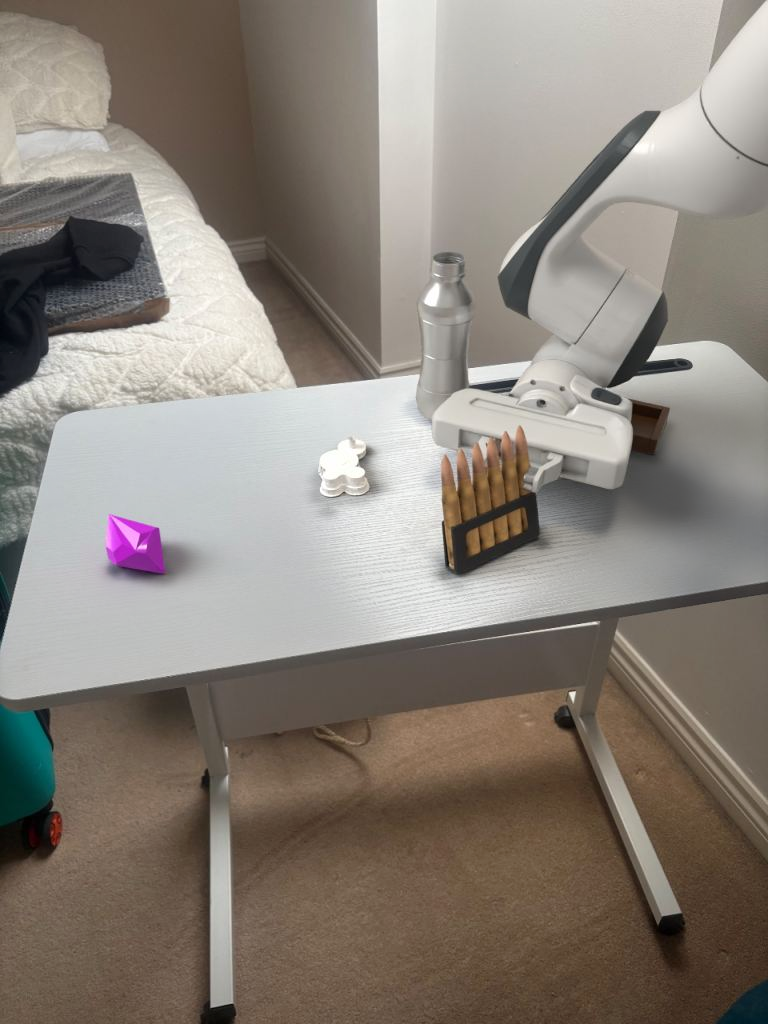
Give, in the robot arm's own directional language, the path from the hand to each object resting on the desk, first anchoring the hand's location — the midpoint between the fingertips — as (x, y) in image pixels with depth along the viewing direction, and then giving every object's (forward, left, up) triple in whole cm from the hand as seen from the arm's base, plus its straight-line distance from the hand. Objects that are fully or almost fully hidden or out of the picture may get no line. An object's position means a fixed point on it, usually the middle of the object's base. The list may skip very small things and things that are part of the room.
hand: (506, 479), depth 79 cm
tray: (-4, -25, -8) cm, 26 cm away
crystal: (+31, +18, -8) cm, 37 cm away
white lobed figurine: (+19, -3, -8) cm, 21 cm away
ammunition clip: (0, +2, -7) cm, 8 cm away
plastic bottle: (+14, -19, -8) cm, 25 cm away
